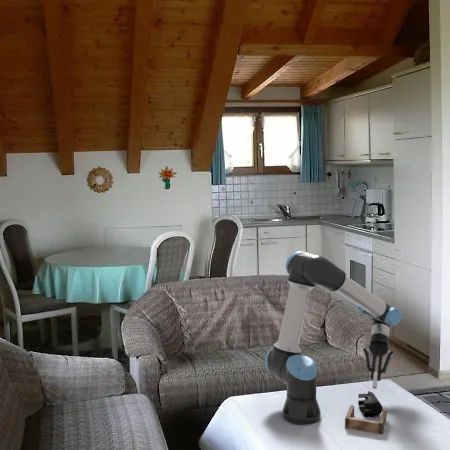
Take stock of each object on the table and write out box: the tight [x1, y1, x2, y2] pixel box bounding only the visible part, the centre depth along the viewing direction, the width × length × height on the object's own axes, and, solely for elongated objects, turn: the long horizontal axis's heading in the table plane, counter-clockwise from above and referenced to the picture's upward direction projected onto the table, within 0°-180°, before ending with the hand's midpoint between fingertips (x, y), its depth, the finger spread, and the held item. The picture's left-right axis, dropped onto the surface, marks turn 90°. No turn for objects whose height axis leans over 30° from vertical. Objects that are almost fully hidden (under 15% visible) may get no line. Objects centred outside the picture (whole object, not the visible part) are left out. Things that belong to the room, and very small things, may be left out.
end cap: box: [357, 390, 384, 418], centre depth 232 cm, size 10×7×7 cm
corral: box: [344, 404, 387, 435], centre depth 222 cm, size 14×12×4 cm
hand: (374, 387), depth 241 cm, fingers closed
